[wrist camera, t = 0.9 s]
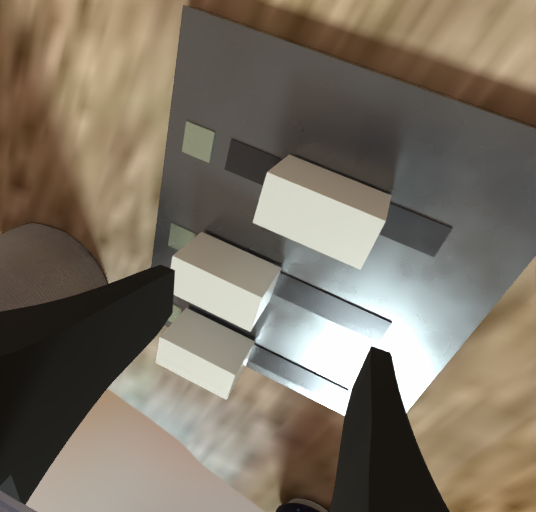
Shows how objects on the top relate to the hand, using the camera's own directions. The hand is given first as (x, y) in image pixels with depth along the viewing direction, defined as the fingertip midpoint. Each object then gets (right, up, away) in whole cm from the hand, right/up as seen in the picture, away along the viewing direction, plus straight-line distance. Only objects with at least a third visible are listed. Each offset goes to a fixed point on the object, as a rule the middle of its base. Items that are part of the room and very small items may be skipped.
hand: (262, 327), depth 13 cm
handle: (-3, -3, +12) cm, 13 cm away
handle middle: (-2, +2, +9) cm, 9 cm away
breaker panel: (+3, +3, +8) cm, 9 cm away
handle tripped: (+3, +5, +5) cm, 8 cm away
